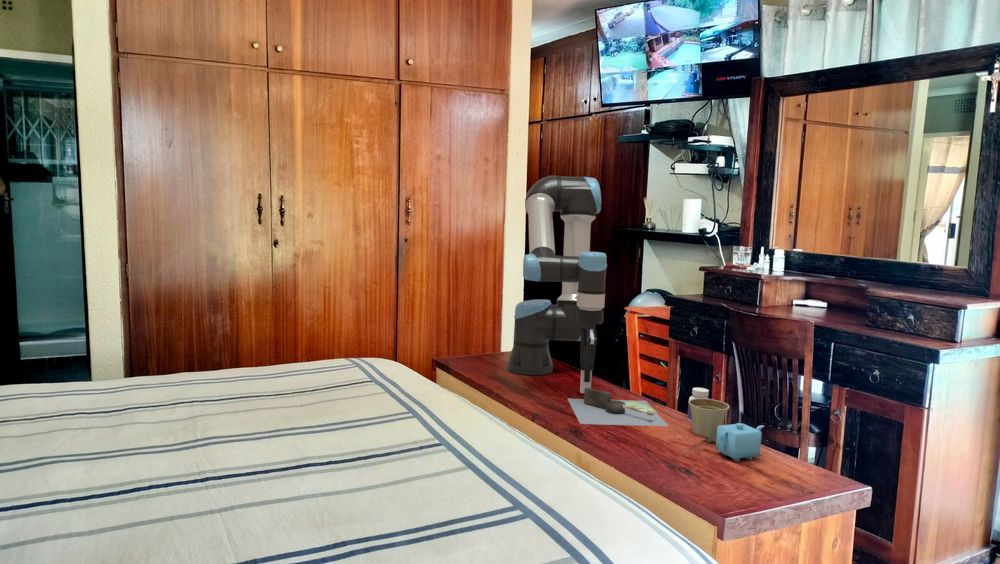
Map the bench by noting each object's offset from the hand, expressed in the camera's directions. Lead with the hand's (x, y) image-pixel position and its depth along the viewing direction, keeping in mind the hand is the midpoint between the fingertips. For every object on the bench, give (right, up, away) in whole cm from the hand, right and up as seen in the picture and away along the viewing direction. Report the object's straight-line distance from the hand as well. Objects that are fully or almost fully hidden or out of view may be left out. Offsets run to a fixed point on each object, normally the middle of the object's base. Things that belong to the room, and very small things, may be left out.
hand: (585, 392), depth 188 cm
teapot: (+30, -9, -35) cm, 48 cm away
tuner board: (+6, -5, -11) cm, 13 cm away
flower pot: (+26, -7, -25) cm, 37 cm away
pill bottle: (+27, -6, -16) cm, 32 cm away
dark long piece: (+6, -3, -11) cm, 13 cm away
